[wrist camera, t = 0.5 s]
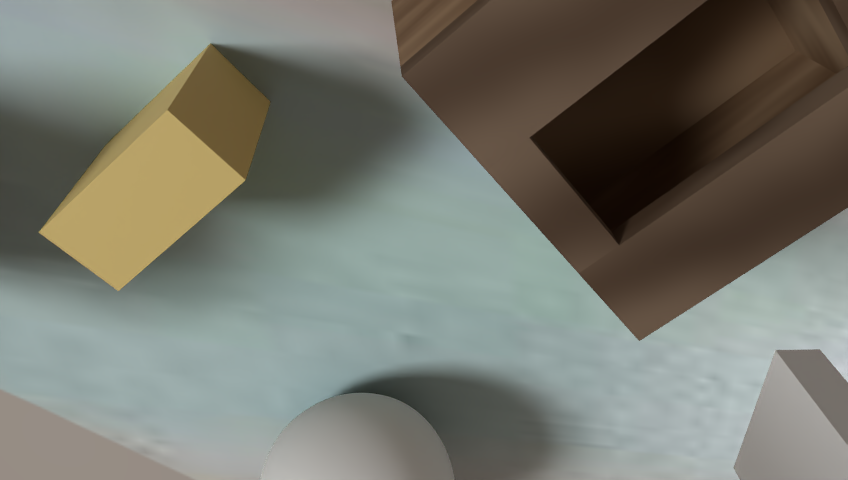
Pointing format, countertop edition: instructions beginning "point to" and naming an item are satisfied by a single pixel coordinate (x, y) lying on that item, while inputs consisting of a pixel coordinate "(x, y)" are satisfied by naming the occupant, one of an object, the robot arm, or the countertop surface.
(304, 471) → the ornament
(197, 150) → the yellow rectangular block
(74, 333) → the countertop surface
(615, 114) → the brown wooden slotted box
